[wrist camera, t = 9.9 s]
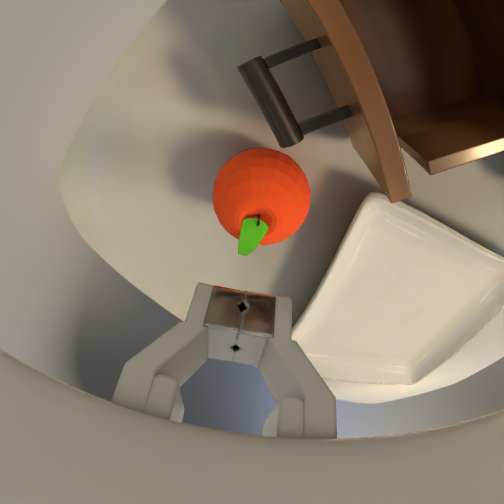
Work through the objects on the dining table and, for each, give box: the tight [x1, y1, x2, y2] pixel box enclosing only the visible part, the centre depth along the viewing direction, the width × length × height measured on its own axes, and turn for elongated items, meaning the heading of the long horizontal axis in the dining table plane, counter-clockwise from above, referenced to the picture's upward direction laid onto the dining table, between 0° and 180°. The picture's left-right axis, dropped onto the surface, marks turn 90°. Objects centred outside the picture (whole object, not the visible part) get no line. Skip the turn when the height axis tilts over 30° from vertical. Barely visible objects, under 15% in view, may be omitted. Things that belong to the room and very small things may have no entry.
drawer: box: [237, 0, 504, 203], centre depth 11 cm, size 18×12×9 cm
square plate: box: [292, 191, 504, 385], centre depth 30 cm, size 27×27×4 cm
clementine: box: [212, 148, 310, 256], centre depth 20 cm, size 8×7×7 cm
